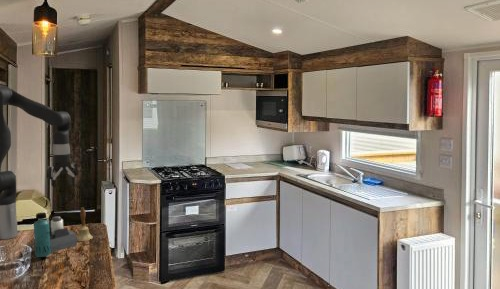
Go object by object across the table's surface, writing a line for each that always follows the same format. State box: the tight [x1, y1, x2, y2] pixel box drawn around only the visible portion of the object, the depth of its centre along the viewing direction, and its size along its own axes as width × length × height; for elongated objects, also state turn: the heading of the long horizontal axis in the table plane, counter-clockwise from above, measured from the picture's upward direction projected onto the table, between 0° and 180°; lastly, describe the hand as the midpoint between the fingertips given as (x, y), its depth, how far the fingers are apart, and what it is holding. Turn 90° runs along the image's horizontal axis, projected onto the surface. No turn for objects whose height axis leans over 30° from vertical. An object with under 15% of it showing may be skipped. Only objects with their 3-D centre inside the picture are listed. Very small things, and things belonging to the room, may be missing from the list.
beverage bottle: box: [33, 212, 52, 258], centre depth 188 cm, size 6×7×20 cm
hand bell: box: [76, 206, 94, 242], centre depth 213 cm, size 8×8×16 cm
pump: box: [50, 215, 64, 237], centre depth 200 cm, size 5×5×8 cm
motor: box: [49, 226, 78, 253], centre depth 200 cm, size 17×8×10 cm, turn 138°
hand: (63, 185), depth 209 cm, fingers open, 8 cm apart
